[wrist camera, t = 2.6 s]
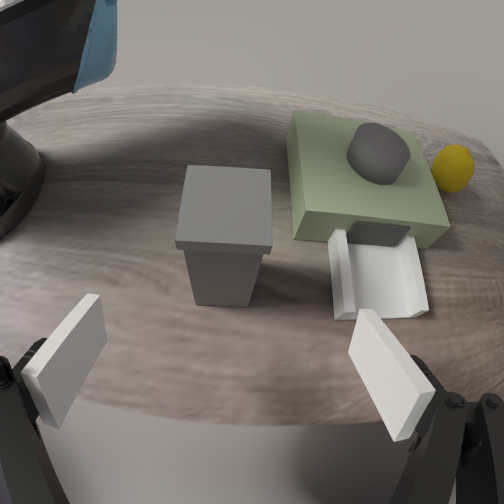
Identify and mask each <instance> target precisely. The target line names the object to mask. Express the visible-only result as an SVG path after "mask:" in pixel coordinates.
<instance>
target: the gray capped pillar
mask: <svg viewBox="0 0 504 504" xmlns="http://www.w3.org/2000/svg"><path fill="white" fill-rule="evenodd" d="M175 243H176V247H177V249H178V250H184V254H185V259H186V264H187V268H188V273H189V277H190V282H191V286H192V290H193V295H194V299H195V303H196V305H209V306H227V307H248V305H249V302H250V299H251V295H252V292H253V288H254V285H255V281H256V278H257V274H258V271H259V268H260V264H261V261H262V257H263V254H267V255H270V252H271V249H272V205H271V170H266V169H253V168H238V167H222V166H201V165H187V171H186V176H185V181H184V187H183V193H182V198H181V204H180V210H179V216H178V223H177V229H176V236H175Z"/></svg>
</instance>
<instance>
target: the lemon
mask: <svg viewBox="0 0 504 504" xmlns="http://www.w3.org/2000/svg"><path fill="white" fill-rule="evenodd" d="M473 172H474V160H473V157H472V155H471V153H470V151H469V149H468V148H465V147H463V146H460V145H449V146H447V147H445V148H444V149H443V150H442V151H441V152H439V154H438V155H437V156H436V158H435V160H434V162H433V165H432V175H433V178H434V180H435V183H436V185H437V187H438V188H439V189H441V190H443V191H445V192H450V193H452V192H457V191H459V190H461V189H462V188H464V187H465V186H466V185H467V184H468V182H469V181H470V179H471V177H472V175H473Z"/></svg>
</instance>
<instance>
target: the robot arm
mask: <svg viewBox="0 0 504 504" xmlns="http://www.w3.org/2000/svg"><path fill="white" fill-rule="evenodd" d="M116 3H117V0H0V238H1V237H3V236H4V235H5V234H7V233H8V232H9V231H10V230H12V229H13V228H14V227H15V226H16V225H17V224H18V223H19V222H20V220H21V219H22V218H23V217H24V216H25V214H26V213H27V212H28V210H29V209H30V207H31V206H32V204H33V203H34V201H35V199H36V197H37V195H38V193H39V191H40V188H41V185H42V181H43V177H44V166H43V162H42V160H41V158H40V156H39V154H38V152H37V150H36V149H35V148H34V146H33V145H32V144H30V143H29V142H27V141H26V140H25V139H24V138H22V137H21V136H20V135H19V134H18V133H17V132H16V131H15V130H13V129H12V128H11V127H10V126H9V125H8V124H7V122H6V120H8V119H10V118H12V117H14V116H16V115H18V114H20V113H22V112H25V111H27V110H29V109H31V108H33V107H36V106H38V105H40V104H42V103H45V102H47V101H50V100H52V99H54V98H57V97H59V96H62V95H64V94H67V93H70V92H71V93H72V94H74V93H76V92H77V91H78V90H79V89H81V88H84V87H86V86H89V85H91V84H94V83H97V82H99V81H102V80H104V79H105V78H107V77H108V76H109V75H110V74H111V72H112V71H113V69H114V67H115V63H116V53H117V4H116ZM106 342H107V337H106V331H105V325H104V318H103V311H102V304H101V296H100V295H95V294H86V296H85V297H84V298H83V299H82V300H81V301H80V302H79V303H78V304H77V305H76V307H75V308H74V309H73V310H72V311H71V312H70V313H69V314H68V316H67V317H66V318H65V319H64V320H63V321H62V323H61V324H60V325H59V326H58V327H57V328H56V329H55V331H54V332H53V333H52V334H51V335H50V337H49V338H48V339H47V338H42V339H40V340H38V341H37V342H35V343H34V344H33V345H32V346H31V347H30V349H29V351H27V352H26V353H25V354H24V356H23V357H22V358H21V359H20V360H19V362H18V363H17V364H16V365H15V367H14V368H13V369H12V368H11V366H10V363H9V361H8V359H7V358H5V357H3V356H0V462H1V466H2V470H3V473H4V477H5V480H6V484H7V487H8V491H9V494H10V497H11V500H12V503H13V504H70V503H69V501H68V499H67V497H66V495H65V493H64V491H63V489H62V486H61V484H60V482H59V480H58V478H57V475H56V473H55V471H54V468H53V466H52V464H51V461H50V458H49V456H48V453H47V450H46V448H45V445H44V442H43V439H42V437H41V434H40V431H39V428H38V425H37V423H36V419H37V417H38V415H39V416H40V418H41V420H42V422H43V424H45V425H48V426H51V427H54V428H58V429H59V428H60V426H61V424H62V422H63V420H64V418H65V416H66V415H67V412H68V411H69V409H70V407H71V405H72V403H73V401H74V399H75V397H76V395H77V394H78V392H79V390H80V388H81V386H82V384H83V382H84V381H85V379H86V377H87V375H88V373H89V372H90V370H91V368H92V366H93V364H94V363H95V361H96V359H97V357H98V356H99V354H100V352H101V350H102V349H103V347H104V345H105V344H106ZM348 353H349V355H350V357H351V359H352V361H353V363H354V365H355V367H356V369H357V370H358V372H359V374H360V376H361V378H362V380H363V382H364V384H365V386H366V388H367V390H368V392H369V394H370V395H371V397H372V399H373V401H374V403H375V405H376V407H377V409H378V411H379V413H380V415H381V417H382V419H383V421H384V423H385V425H386V427H387V429H388V431H389V433H390V435H391V437H392V439H393V441H394V442H395V441H400V440H404V439H408V438H409V437H410V436H411V434H412V432H413V431H414V429H415V430H416V431H417V433H418V436H417V438H416V440H415V441H414V443H413V444H412V446H411V447H410V449H409V450H408V451H409V452H410V451H411V453H410V455H409V458H408V461H407V463H406V466H405V468H404V471H403V473H402V476H401V478H400V480H399V483H398V485H397V487H396V489H395V492H394V494H393V496H392V498H391V500H390V502H389V504H448V502H449V499H450V496H451V492H452V488H453V484H454V480H455V476H456V504H504V402H503V400H502V399H501V398H500V397H499V396H497V395H495V394H492V393H485V394H484V395H482V397H481V399H480V400H479V402H466V400H465V399H464V398H463V397H462V396H461V395H459V394H457V393H454V392H447V391H446V390H445V389H444V388H443V386H442V385H441V384H440V382H439V381H438V380H437V378H436V377H435V376H434V375H432V372H431V371H430V370H429V369H428V367H427V366H426V364H425V363H424V362H423V361H422V360H421V359H419V358H418V357H416V356H415V355H409V354H408V353H407V352H406V350H405V349H404V348H403V346H402V345H401V344H400V343H399V341H398V340H397V339H396V338H395V336H394V335H393V334H392V332H391V331H390V330H389V329H388V327H387V326H386V325H385V324H384V323H383V321H382V320H381V319H380V318H379V316H378V315H377V314H376V313H375V311H374V310H373V309H359V313H358V317H357V321H356V325H355V329H354V333H353V337H352V340H351V344H350V347H349V351H348Z"/></svg>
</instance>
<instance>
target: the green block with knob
mask: <svg viewBox="0 0 504 504" xmlns="http://www.w3.org/2000/svg"><path fill="white" fill-rule="evenodd" d="M286 144H287V156H288V168H289V180H290V194H291V208H292V224H293V239H295V240H310V241H325V242H328V251H329V261H330V271H331V281H332V293H333V305H334V319H335V320H357V317H358V313H359V309H373V310H374V311H375V313H376V314H377V315H378V316H379V318H380V319H399V318H416V317H418V316H419V315H421V314H423V313H425V312H427V311H428V310H429V307H428V301H427V296H426V290H425V285H424V279H423V274H422V269H421V265H420V260H419V256H418V251H417V248H419V249H427V248H428V247H430V246H431V245H432V244H433V243H434V242H435V241H436V240H437V239H438V238H439V237H440V236H442V235H443V234H444V233H445V232H446V231H447V230H448V229H449V228H450V227H451V226H450V223H449V220H448V217H447V214H446V211H445V208H444V205H443V202H442V199H441V196H440V194H439V191H438V188H437V186H436V183H435V180H434V178H433V175H432V173H431V170H430V168H429V166H428V163H427V161H426V158H425V156H424V154H423V152H422V149H421V147H420V145H419V143H418V140H417V138H416V136H415V134H414V133H410V132H407V131H403V130H399V129H395V128H391V127H386V126H383V125H380V124H377V123H368V122H364V121H359V120H354V119H348V118H343V117H337V116H332V115H325V114H319V113H313V112H306V111H298V110H294V111H293V115H292V119H291V124H290V128H289V132H288V136H287V140H286Z"/></svg>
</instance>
